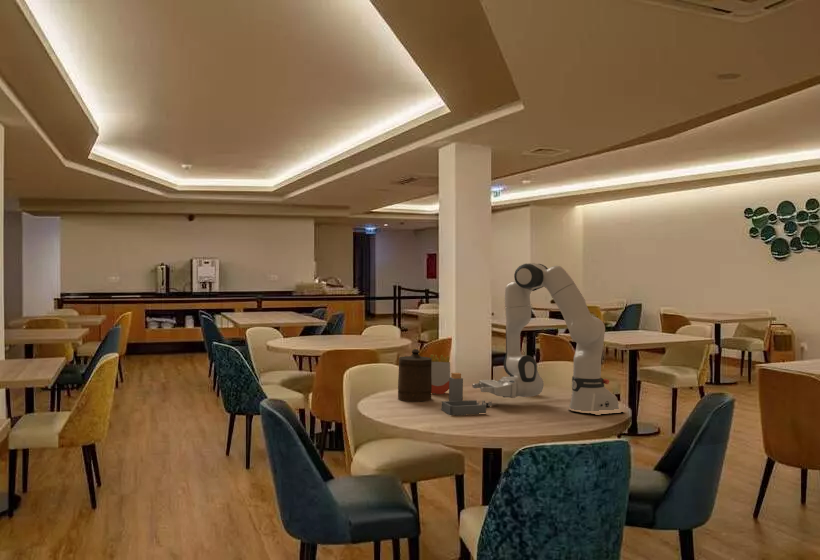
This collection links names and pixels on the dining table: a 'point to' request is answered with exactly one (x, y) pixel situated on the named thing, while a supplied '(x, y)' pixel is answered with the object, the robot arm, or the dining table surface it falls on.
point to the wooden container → (414, 378)
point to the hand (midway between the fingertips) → (477, 387)
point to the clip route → (486, 403)
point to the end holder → (462, 407)
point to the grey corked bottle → (455, 387)
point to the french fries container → (440, 374)
